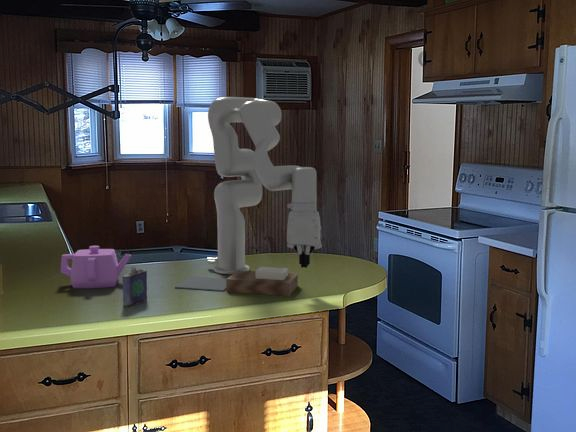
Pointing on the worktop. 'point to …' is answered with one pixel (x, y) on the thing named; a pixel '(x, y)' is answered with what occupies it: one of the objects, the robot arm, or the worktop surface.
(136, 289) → the flask
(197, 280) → the mat
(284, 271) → the tile
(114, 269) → the teakettle
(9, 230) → the worktop surface
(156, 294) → the worktop surface
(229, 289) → the deck
